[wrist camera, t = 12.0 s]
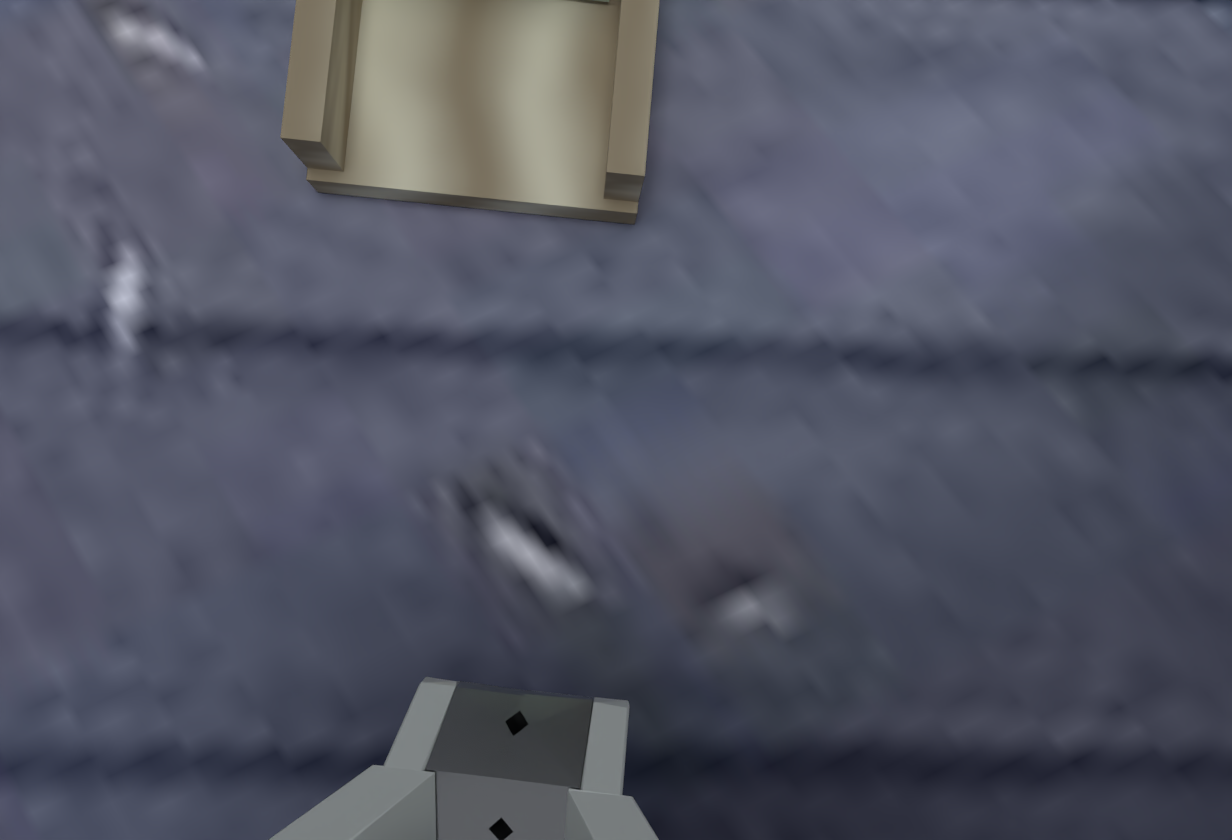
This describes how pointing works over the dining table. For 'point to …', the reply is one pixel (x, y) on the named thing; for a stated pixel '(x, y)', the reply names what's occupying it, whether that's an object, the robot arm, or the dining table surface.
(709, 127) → the dining table surface
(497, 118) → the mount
